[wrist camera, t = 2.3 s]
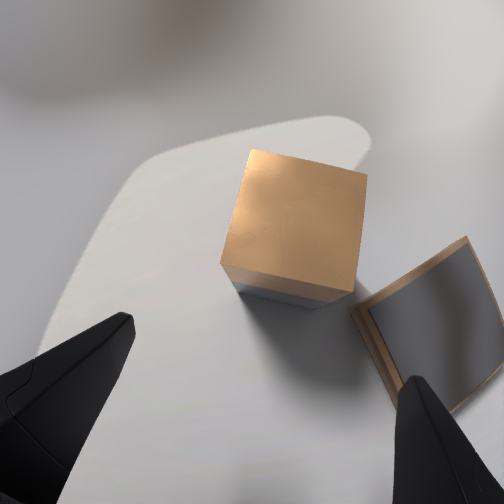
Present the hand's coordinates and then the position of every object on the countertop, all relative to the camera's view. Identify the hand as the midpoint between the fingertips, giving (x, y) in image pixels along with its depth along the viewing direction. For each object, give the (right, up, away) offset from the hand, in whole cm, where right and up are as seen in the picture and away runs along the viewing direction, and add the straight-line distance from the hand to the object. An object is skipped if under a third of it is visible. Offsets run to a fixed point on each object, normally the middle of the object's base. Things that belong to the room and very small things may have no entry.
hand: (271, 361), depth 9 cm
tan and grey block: (+2, +3, +13) cm, 13 cm away
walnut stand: (+14, -3, +11) cm, 18 cm away
